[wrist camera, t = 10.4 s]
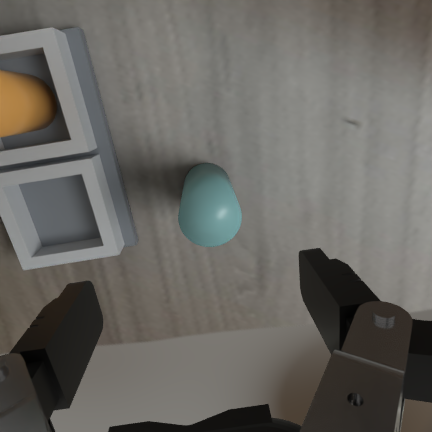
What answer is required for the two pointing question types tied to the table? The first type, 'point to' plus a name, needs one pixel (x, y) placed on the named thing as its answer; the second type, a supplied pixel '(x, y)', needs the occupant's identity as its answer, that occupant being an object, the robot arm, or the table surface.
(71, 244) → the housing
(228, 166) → the table surface
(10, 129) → the orange pin
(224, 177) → the teal pin
